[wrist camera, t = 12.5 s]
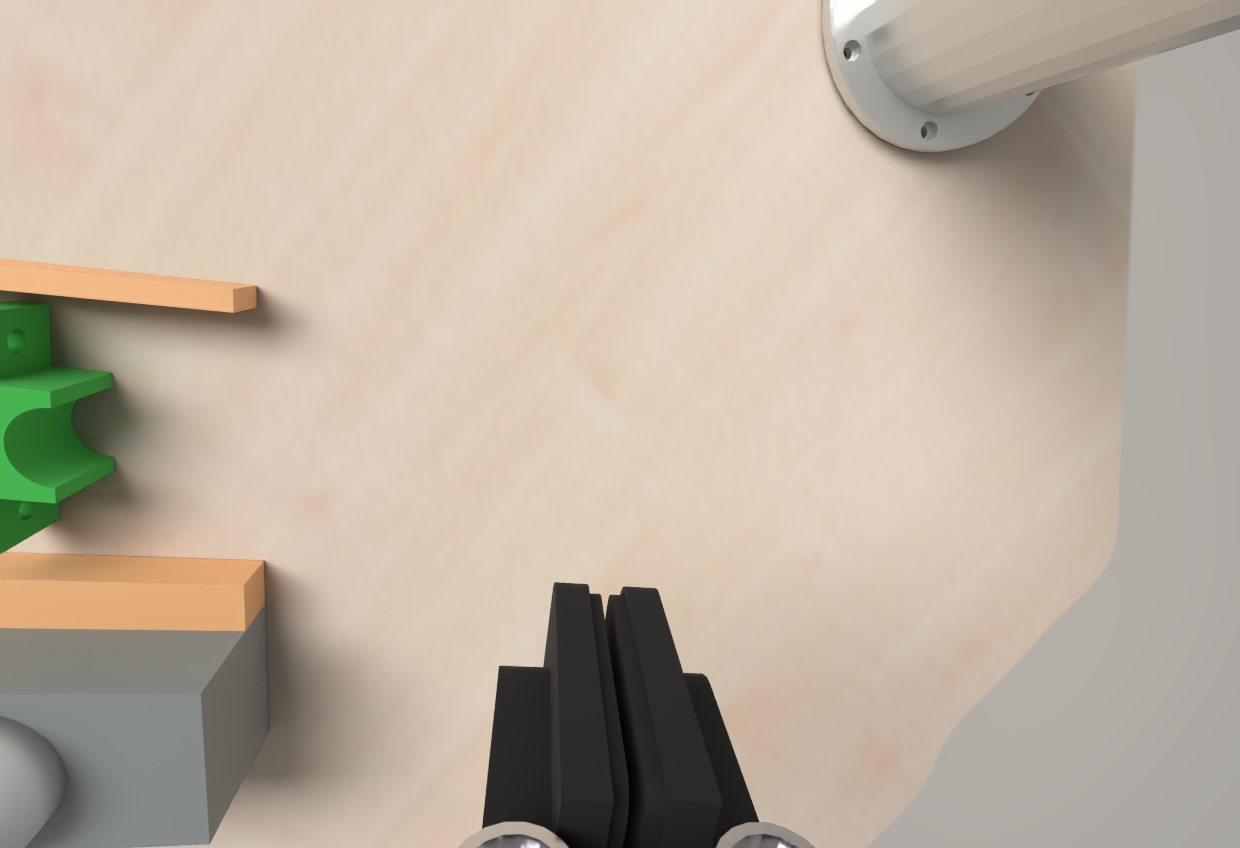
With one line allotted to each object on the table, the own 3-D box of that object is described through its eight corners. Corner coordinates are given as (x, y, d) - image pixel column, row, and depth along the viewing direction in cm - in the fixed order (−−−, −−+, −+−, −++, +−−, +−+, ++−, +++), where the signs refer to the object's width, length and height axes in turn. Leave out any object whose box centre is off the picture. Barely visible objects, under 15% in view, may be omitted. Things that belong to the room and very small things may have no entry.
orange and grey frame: (-193, 238, 26) (-522, 233, 17) (256, 285, 29) (152, 300, 21) (-92, 735, 32) (-301, 901, 24) (268, 730, 35) (193, 875, 27)
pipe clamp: (119, 521, 31) (58, 564, 27) (38, 515, 30) (-37, 557, 26) (112, 311, 28) (43, 323, 24) (23, 299, 27) (-63, 308, 23)
